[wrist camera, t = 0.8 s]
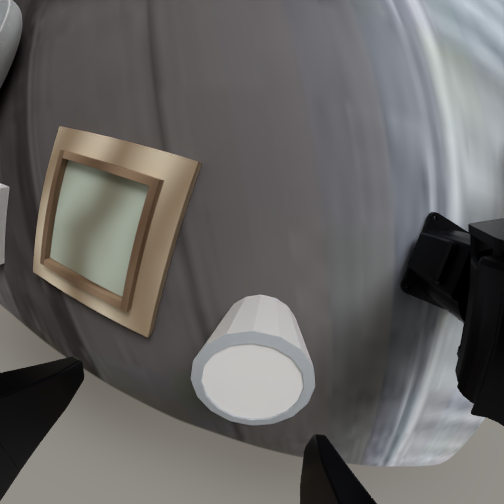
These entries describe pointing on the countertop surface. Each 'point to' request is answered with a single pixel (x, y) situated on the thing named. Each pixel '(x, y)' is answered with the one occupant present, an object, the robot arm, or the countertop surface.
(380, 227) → the countertop surface
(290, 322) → the white tapered cylinder
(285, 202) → the countertop surface
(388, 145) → the countertop surface
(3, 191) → the soap bar
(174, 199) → the board
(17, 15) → the serving bowl
